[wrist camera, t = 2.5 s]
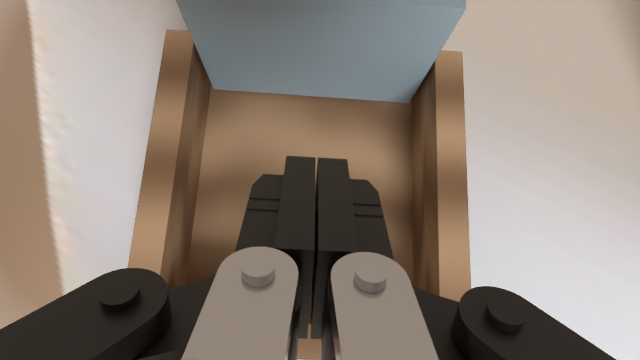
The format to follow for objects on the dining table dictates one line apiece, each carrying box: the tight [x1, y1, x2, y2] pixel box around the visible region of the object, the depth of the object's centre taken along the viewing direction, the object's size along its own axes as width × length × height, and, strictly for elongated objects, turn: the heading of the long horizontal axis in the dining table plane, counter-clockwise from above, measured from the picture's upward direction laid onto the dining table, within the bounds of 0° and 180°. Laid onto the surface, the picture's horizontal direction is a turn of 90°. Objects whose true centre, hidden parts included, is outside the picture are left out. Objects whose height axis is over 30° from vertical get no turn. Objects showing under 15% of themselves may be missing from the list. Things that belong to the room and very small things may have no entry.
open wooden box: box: [128, 30, 471, 360], centre depth 25 cm, size 17×17×7 cm
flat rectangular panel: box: [176, 0, 466, 103], centre depth 24 cm, size 2×13×10 cm, turn 87°
